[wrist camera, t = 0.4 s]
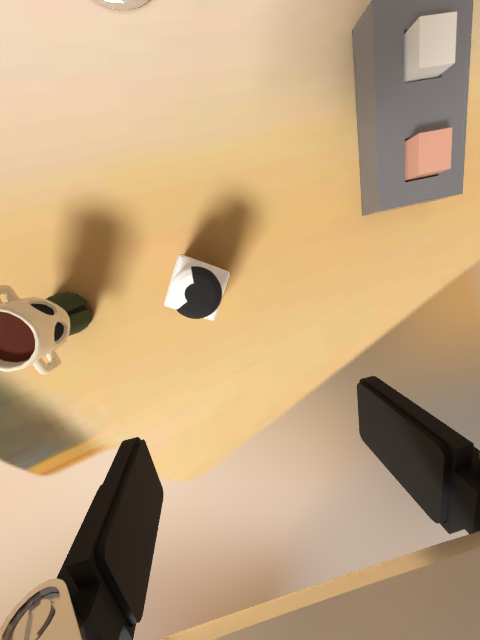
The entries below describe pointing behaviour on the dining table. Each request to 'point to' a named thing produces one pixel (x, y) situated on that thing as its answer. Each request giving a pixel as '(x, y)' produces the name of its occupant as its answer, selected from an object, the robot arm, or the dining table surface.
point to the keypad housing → (406, 103)
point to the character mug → (37, 328)
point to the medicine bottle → (196, 288)
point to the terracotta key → (428, 153)
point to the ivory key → (430, 46)
